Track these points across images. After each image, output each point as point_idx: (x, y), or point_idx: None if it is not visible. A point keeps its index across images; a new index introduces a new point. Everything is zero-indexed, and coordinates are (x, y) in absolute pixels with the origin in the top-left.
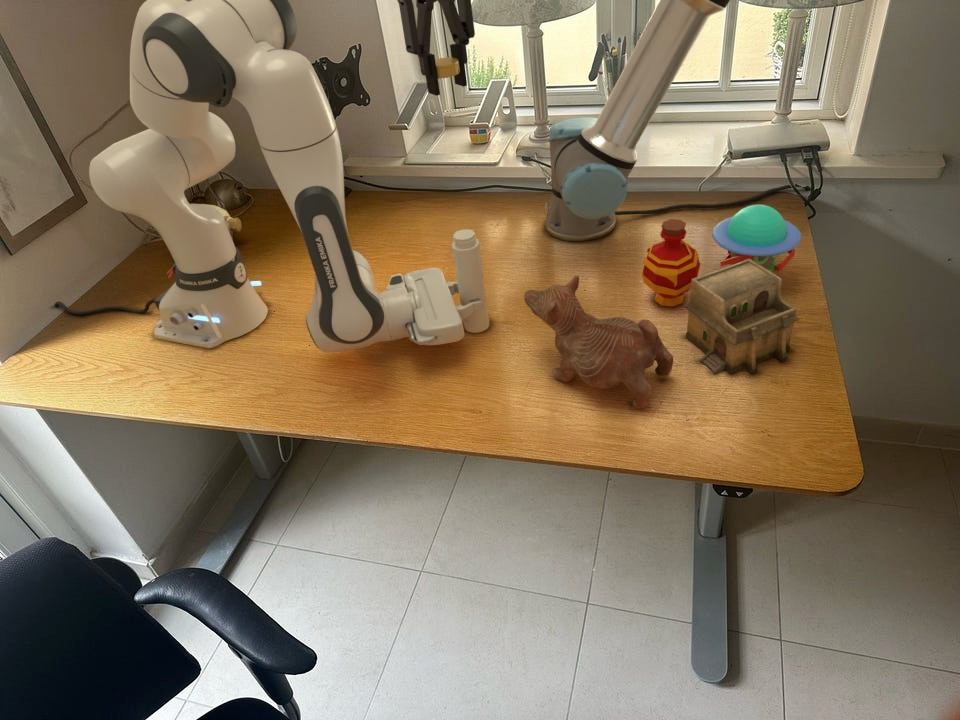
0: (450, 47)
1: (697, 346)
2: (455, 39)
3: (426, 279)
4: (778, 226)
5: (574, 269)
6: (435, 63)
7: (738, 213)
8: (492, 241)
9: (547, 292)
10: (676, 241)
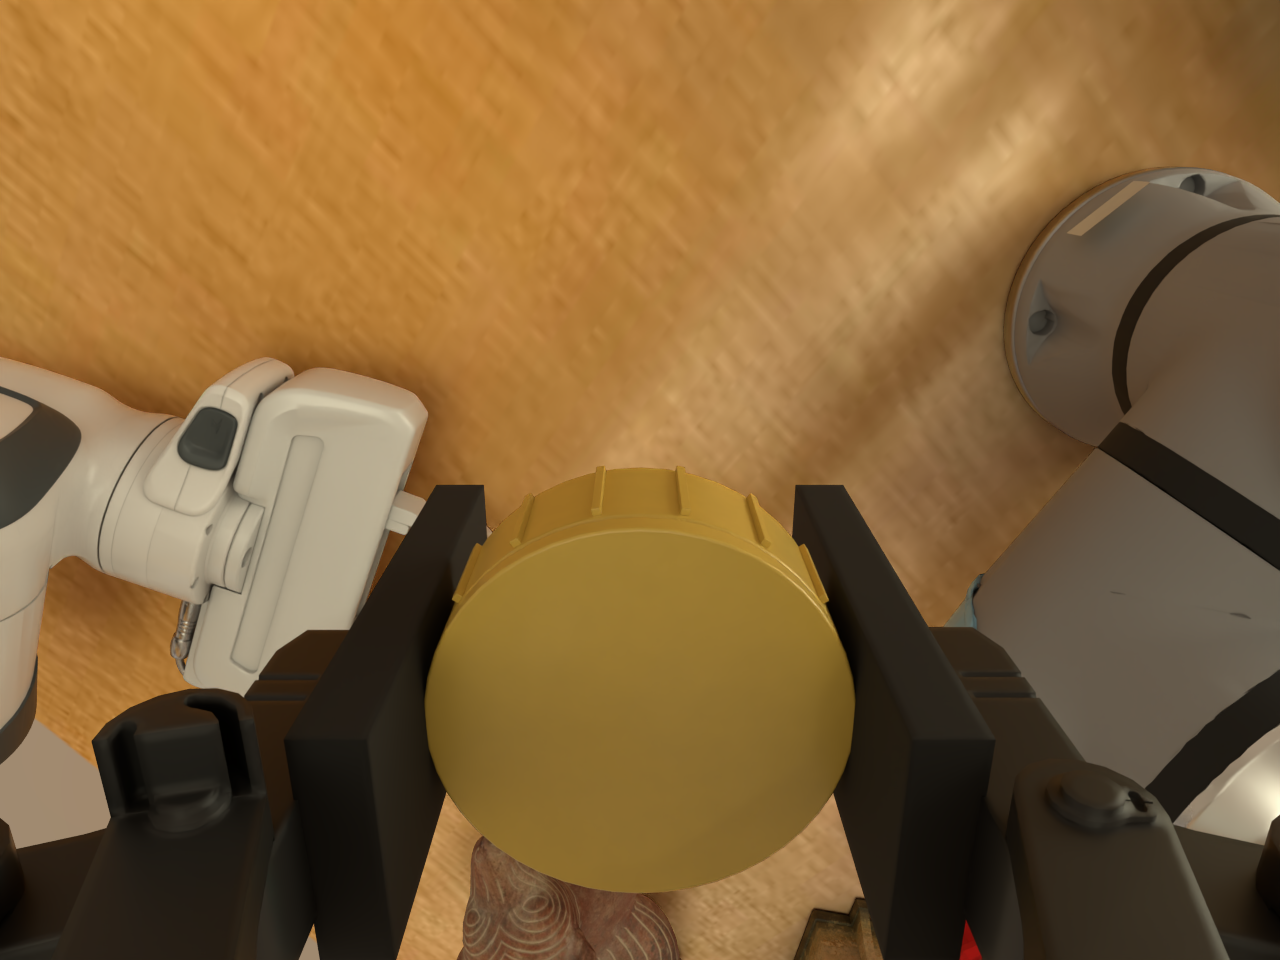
0: (900, 721)
1: (800, 943)
2: (1013, 886)
3: (332, 462)
4: None
5: (878, 523)
6: (425, 856)
7: None
8: (833, 138)
9: (494, 951)
10: None
